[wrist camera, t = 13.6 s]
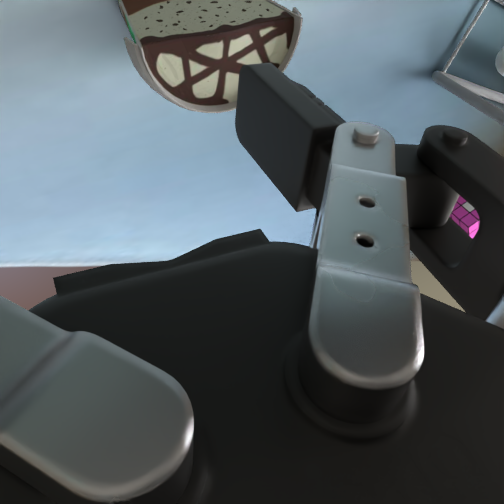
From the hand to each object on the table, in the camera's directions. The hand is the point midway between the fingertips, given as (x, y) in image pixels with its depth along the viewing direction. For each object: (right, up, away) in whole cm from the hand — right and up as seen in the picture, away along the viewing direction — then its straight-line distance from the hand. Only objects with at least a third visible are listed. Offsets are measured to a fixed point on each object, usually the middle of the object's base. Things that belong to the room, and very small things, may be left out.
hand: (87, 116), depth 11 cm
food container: (-2, +15, +28) cm, 32 cm away
